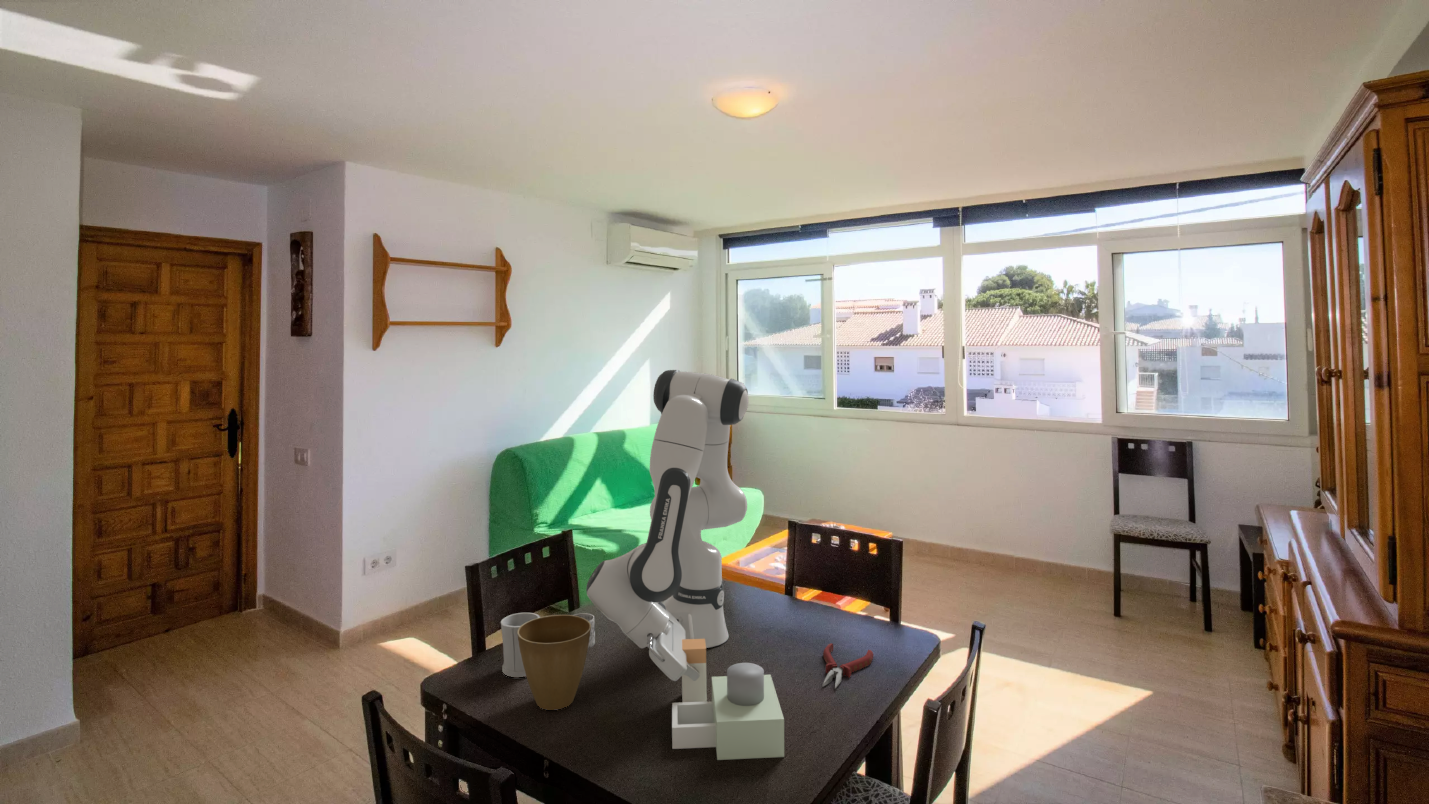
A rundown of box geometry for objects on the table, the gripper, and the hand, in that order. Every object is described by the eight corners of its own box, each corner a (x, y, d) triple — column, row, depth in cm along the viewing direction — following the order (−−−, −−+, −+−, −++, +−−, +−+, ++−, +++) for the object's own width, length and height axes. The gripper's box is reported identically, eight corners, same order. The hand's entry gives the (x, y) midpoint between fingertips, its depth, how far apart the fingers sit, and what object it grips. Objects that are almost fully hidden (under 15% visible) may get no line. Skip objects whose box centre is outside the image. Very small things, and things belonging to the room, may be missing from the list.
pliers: (803, 687, 146) (803, 675, 146) (827, 651, 165) (827, 640, 164) (855, 698, 142) (855, 686, 141) (874, 659, 160) (874, 648, 160)
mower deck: (672, 761, 119) (671, 696, 118) (672, 711, 136) (671, 654, 135) (784, 756, 120) (784, 691, 119) (770, 707, 137) (770, 650, 136)
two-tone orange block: (682, 706, 138) (681, 649, 137) (682, 694, 143) (681, 639, 142) (706, 705, 138) (706, 648, 137) (705, 693, 143) (704, 638, 142)
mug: (600, 643, 169) (599, 617, 169) (579, 652, 164) (578, 625, 164) (575, 633, 176) (574, 608, 175) (554, 641, 171) (553, 615, 170)
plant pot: (525, 728, 130) (522, 648, 129) (515, 693, 144) (512, 620, 143) (600, 711, 136) (598, 634, 135) (584, 679, 150) (582, 609, 149)
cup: (555, 667, 156) (554, 616, 155) (529, 684, 148) (527, 631, 147) (520, 659, 161) (518, 610, 160) (492, 675, 152) (491, 623, 152)
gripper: (658, 635, 129) (710, 683, 130) (660, 597, 149) (705, 639, 150) (635, 659, 129) (687, 706, 130) (640, 618, 149) (685, 659, 150)
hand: (696, 669), depth 140 cm, fingers closed on two-tone orange block, 5 cm apart
